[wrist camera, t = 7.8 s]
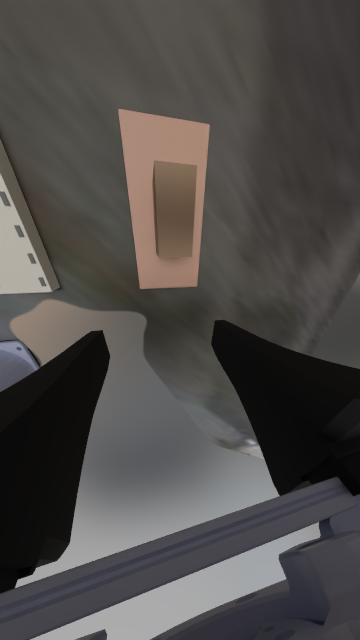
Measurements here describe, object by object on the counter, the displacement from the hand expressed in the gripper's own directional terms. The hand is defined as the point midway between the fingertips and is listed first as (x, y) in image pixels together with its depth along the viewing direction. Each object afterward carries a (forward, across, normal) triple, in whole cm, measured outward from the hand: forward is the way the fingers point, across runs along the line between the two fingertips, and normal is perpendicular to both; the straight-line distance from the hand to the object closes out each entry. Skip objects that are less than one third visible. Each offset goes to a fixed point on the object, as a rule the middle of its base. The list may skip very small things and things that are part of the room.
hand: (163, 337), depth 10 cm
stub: (+9, -2, -7) cm, 12 cm away
